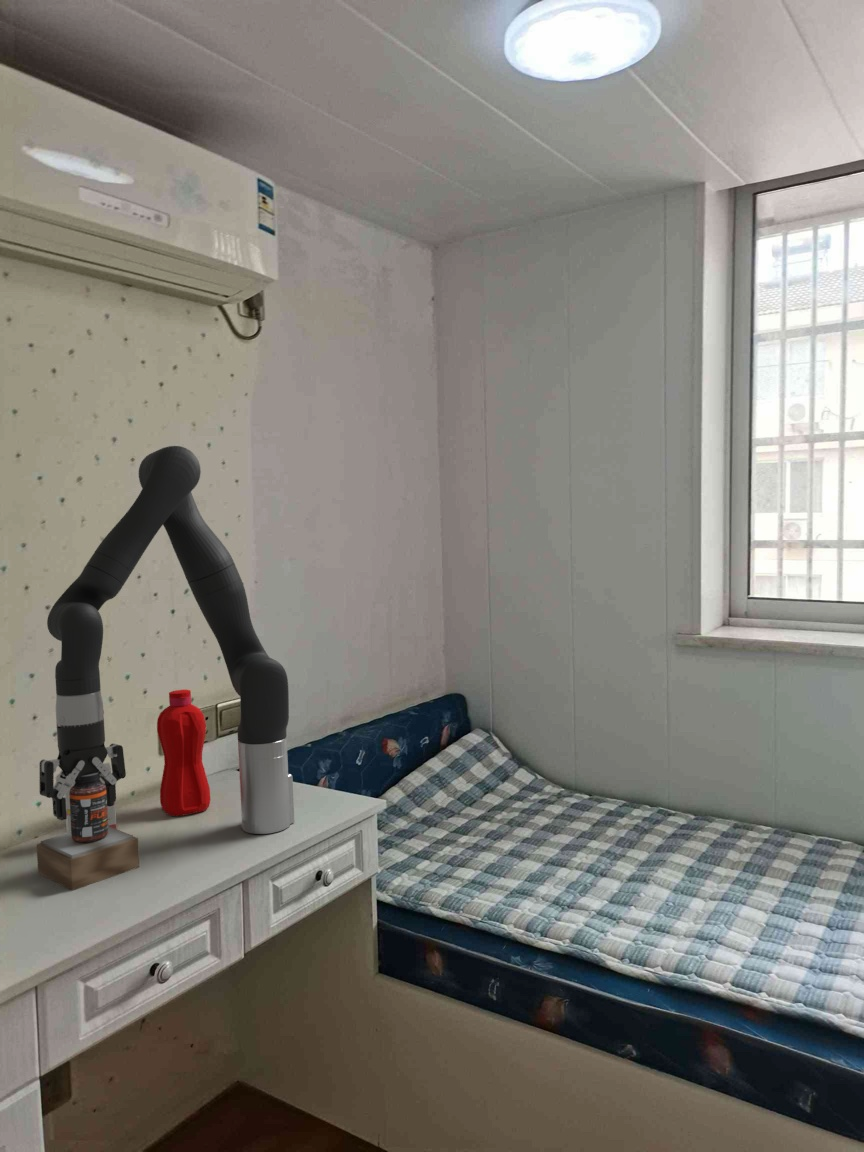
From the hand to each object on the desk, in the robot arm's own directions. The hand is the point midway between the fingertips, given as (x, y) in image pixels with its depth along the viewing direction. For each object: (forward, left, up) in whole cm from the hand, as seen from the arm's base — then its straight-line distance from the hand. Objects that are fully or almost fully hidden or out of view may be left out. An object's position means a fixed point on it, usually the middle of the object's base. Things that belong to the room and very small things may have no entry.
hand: (85, 812), depth 151 cm
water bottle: (-29, -15, -10) cm, 34 cm away
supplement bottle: (0, 0, -5) cm, 5 cm away
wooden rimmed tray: (0, 0, -10) cm, 10 cm away
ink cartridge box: (-8, -14, -10) cm, 19 cm away
